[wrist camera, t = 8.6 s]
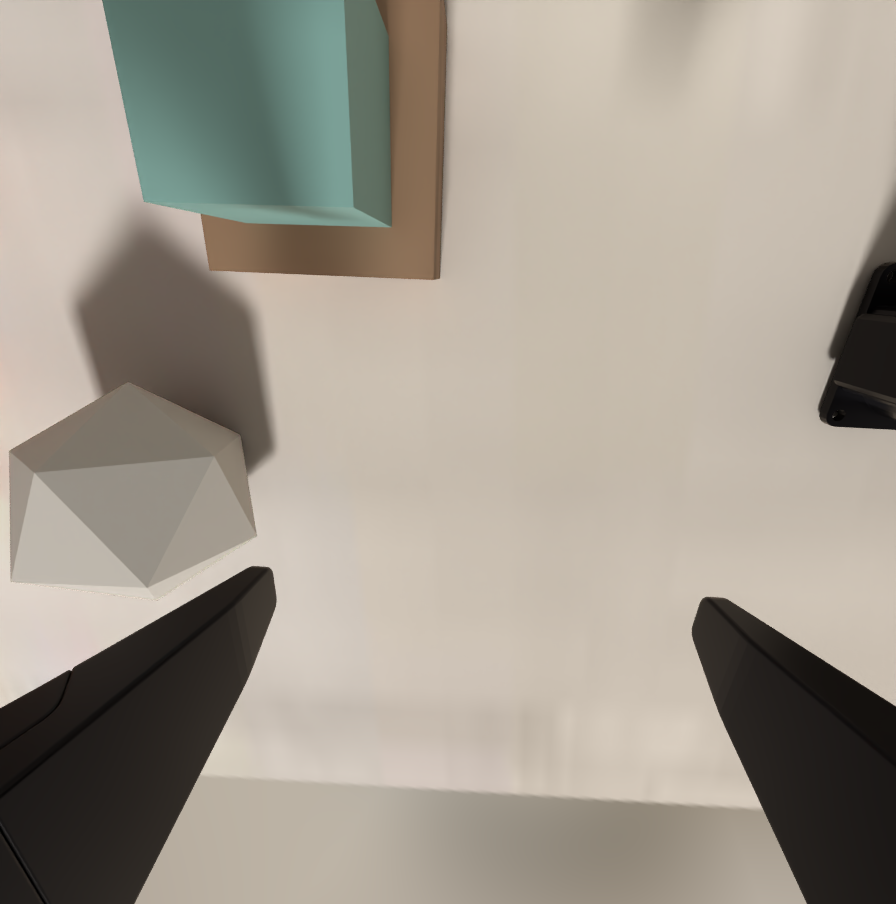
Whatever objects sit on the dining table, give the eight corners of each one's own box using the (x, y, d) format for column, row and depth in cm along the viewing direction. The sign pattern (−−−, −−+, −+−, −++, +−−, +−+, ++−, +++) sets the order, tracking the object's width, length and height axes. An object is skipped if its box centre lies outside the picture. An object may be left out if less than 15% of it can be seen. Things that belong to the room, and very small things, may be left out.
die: (152, 334, 20) (-127, 452, 15) (273, 394, 17) (-37, 583, 11) (219, 460, 26) (36, 580, 20) (320, 526, 22) (131, 696, 17)
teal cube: (388, 36, 13) (339, -96, 8) (391, 227, 15) (353, 207, 10) (221, 34, 13) (82, -96, 8) (246, 223, 15) (143, 201, 10)
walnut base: (446, 27, 15) (440, -28, 12) (439, 278, 18) (433, 279, 15) (218, 22, 15) (161, -32, 13) (249, 270, 18) (209, 270, 16)
